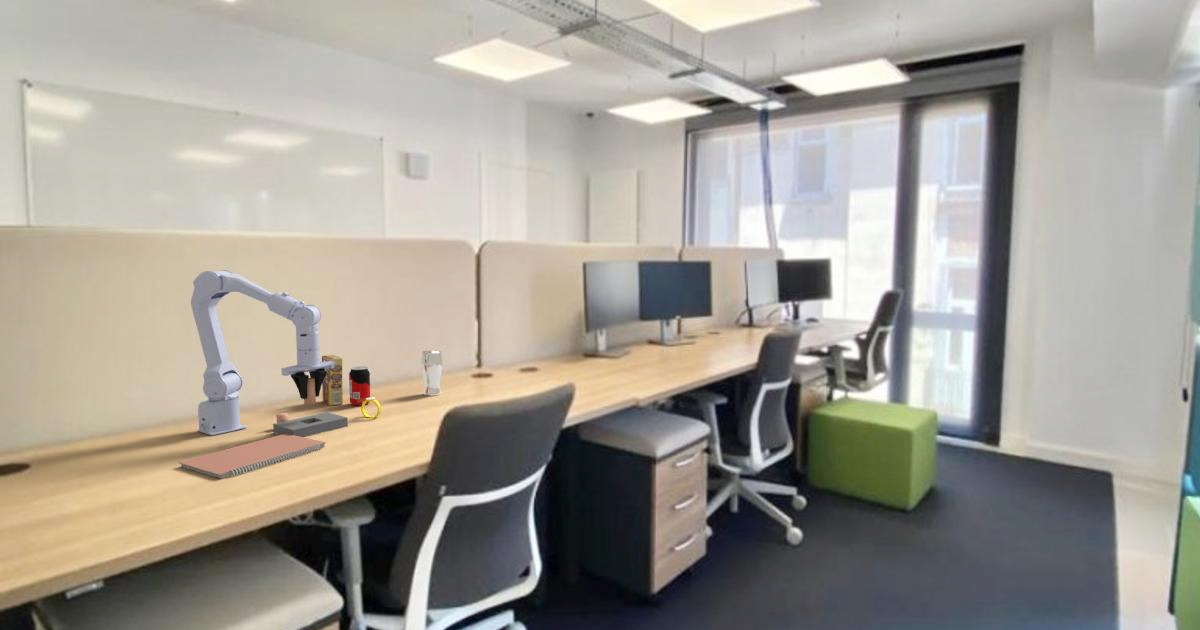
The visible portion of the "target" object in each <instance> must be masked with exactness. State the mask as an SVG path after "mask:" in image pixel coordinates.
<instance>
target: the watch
mask: <svg viewBox="0 0 1200 630" xmlns="http://www.w3.org/2000/svg"><path fill="white" fill-rule="evenodd" d="M366 402H369V403H370V402H371V403H372V402H373V403H374V404H375V405H376V408H377V412H376V415H369V414H368V413H367V411H366V409H365V407H366V405H365V404H366ZM360 407H361V409H360V410H361V413H362V416H364V417H365V418H366V417H369V418H368V419H370V418H371V419H376V418H378V417H379V416H380V415H381V413H382V406H381V403H380V402H379V400H377V399H376V397H374V396H373V397H371V396H370V398H366V400H365V401H364V402H363V403H362V406H360Z"/></svg>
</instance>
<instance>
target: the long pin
mask: <svg viewBox="0 0 1200 630" xmlns="http://www.w3.org/2000/svg"><path fill="white" fill-rule="evenodd" d="M316 398H317V397H316V394H315V378H311V377H309V378H308V383H307V399H303V405H306V406H307V405H314V404H316V403H317V401H316V400H317V399H316Z"/></svg>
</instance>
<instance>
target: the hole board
mask: <svg viewBox="0 0 1200 630" xmlns="http://www.w3.org/2000/svg"><path fill="white" fill-rule="evenodd" d="M348 421H349V420H348V417H347V416H343V415H339V414H335V413H331V412H328V411H327V412H322V413H318V414H312V415H308V416H303V417H299V418H295V419H291V420H290V419H289V421H285V422H280V423H277V422H275V423H272V427H273V434H275V433H276V435H282V434H291V435H295V436H300V437H304V438H306V437H309V436H312V435H318V434H321V432H322V433H325V432H330V431H333V430H337V429H342V428H346V427H348V424H349V422H348Z"/></svg>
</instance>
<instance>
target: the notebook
mask: <svg viewBox="0 0 1200 630" xmlns="http://www.w3.org/2000/svg"><path fill="white" fill-rule="evenodd" d="M326 444H327V442H326V441H322V440H317V439H312V438H309V437H308V438H307V437H300V436H295V435H291V434H282V435H279V434H277V435H275V436H272V437H267V438H264V439H260V440H256V441H252V442H249V443H245V444H242V445H239V446H238V445H237V446H235V447H231V448H227V449H223V450H220V451H216V452H215V451H214V452H213V453H208V454H205V455H202V456H198V457H197V456H196V457H193V458H190V459H186V460H182V461H179V462H178V464H180V466H181V467H180V468H182V467H184V468H183V469H186V468H187V469H186V470H189V469H191V470H190V471H192V470H194V471H193V472H196V471H198V472H197V473H199V472H201V473H200V474H202V473H204V474H203V475H206V474H208V475H207V476H209V475H211V476H210V477H213V476H214V478H216V477H218V478H217V479H222V478H223V479H227V478H230V477H232V475H233V478H235V476H236V477H238V476H241V475H244V474H247V473H250V472H254V471H256V470H259V469H262V468H265V467H266V466H269V465H270V466H271V463H272V464H273V465H274V464H275V463H276V464H279V463H282V461H284V462H285V461H286V460H287V461H288V460H289V459H291V458H292V459H295V458H298V457H299V456H300V457H301V456H302V455H303V456H304V454H305V455H308V454H311V453H312V452H314V451H315V452H316V451H317V452H318V451H321V449H322V448H325V445H326ZM316 449H317V450H316ZM313 450H314V451H313ZM303 453H304V454H303ZM300 454H301V455H300ZM290 457H291V458H290ZM287 458H288V459H287ZM280 460H281V461H280ZM277 461H278V462H277ZM274 462H275V463H274ZM254 468H255V469H254ZM251 469H252V470H251ZM248 470H249V471H248ZM245 471H246V472H245ZM235 474H236V475H235ZM223 479H222V480H223Z"/></svg>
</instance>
